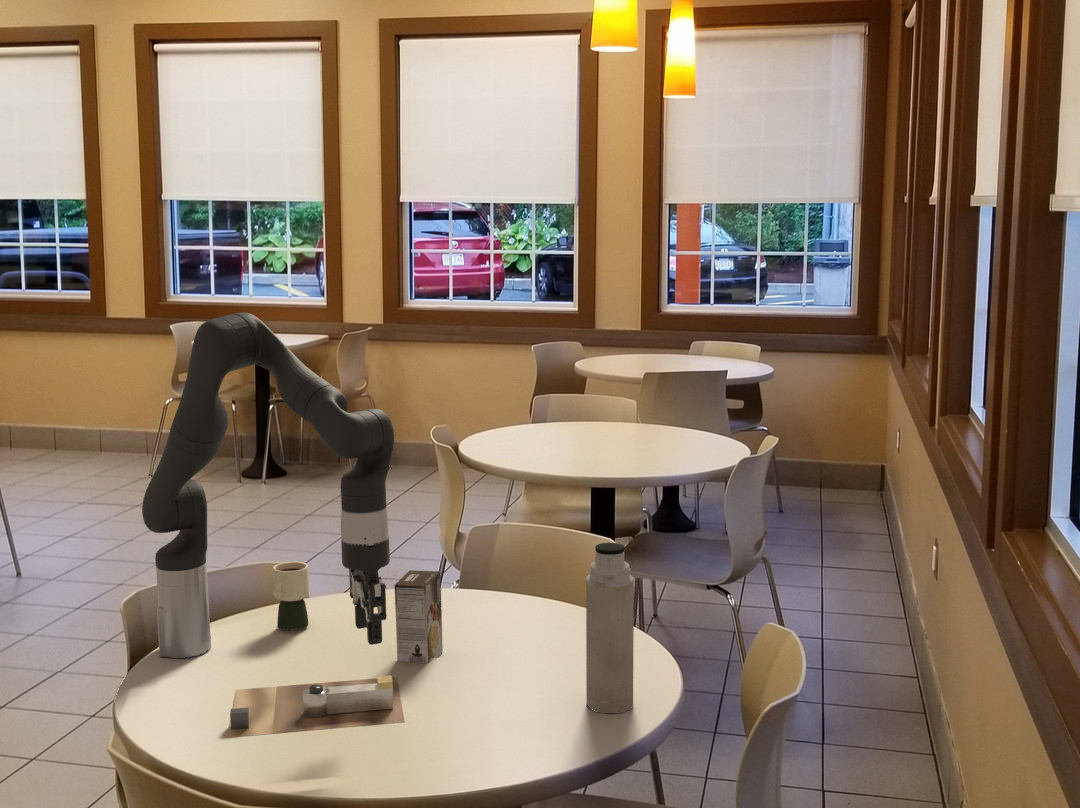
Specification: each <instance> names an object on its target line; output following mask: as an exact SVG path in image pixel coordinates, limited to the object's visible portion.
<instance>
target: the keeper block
mask: <svg viewBox="0 0 1080 808" xmlns="http://www.w3.org/2000/svg"><path fill="white" fill-rule="evenodd" d="M229 717H230V718H229V719H230V720H229V723H230V722H231V730H236V729H248V728H249V724H250V723H249V707H247V708H235V709H232V708H230V711H229Z"/></svg>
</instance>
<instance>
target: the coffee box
mask: <svg viewBox="0 0 1080 808" xmlns="http://www.w3.org/2000/svg"><path fill="white" fill-rule="evenodd" d="M441 578H442V577H441V571H440V570H439V571H437V570H436V571H435V570H412V569H411V570H408V571H407V572H406V573H405V574H404V575H403V576H402V577H401V578H400V579H399V580H398V581H397V582H396V583H395V584H394V601H395V602H394V605H395V607H394V608H395V630H396V631H395V632H396V633H395V634H396V635H395V636H396V660H397V662H408V663H422V664H423V663H424V664H428V663H430V662H431V661H432V660H433V659H437V658H439V656H440V655H441V654H442V652H443V650H444V648H443V646H444V645H443V622H442V621H443V620H442V618H443V617H442V612H443V611H442V584H441V583H442V582H441Z"/></svg>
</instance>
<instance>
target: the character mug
mask: <svg viewBox="0 0 1080 808" xmlns="http://www.w3.org/2000/svg"><path fill="white" fill-rule="evenodd" d="M308 565H309V564H307V563H305V562H301V561H286V562H281V563H280V562H279V563H278V564H275V565H273V566H272V582H273V586H274V587H273V592H272V593H273V596H274V598H275V599H276V600H279V604H278V610H277V611H278V612H277V626H276V628H277V629H278V630H288V631H289V630H290V631H291V630H301V629H306V627H308V626H309V622H310V621H309V617H308V609H307V605H306V601H305V600H304V599H306V598H308V597H309V596H310V579H309V578H310V576H309V575H310V574H309V566H308Z"/></svg>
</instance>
